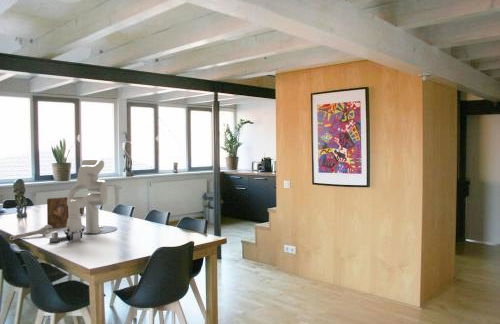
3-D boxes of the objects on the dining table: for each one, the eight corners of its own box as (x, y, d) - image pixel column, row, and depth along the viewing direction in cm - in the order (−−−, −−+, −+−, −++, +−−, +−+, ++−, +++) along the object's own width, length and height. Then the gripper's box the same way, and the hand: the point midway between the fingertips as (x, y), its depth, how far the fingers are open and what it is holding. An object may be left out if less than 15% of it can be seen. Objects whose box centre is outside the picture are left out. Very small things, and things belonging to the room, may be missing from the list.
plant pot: (83, 212, 437) (83, 196, 436) (88, 214, 424) (88, 198, 424) (66, 213, 426) (66, 197, 426) (71, 215, 414) (71, 199, 413)
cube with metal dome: (75, 239, 313) (75, 230, 313) (80, 241, 310) (80, 231, 310) (68, 241, 308) (68, 231, 308) (73, 242, 305) (73, 232, 305)
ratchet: (70, 237, 320) (70, 228, 320) (76, 238, 317) (76, 229, 316) (47, 242, 305) (47, 232, 305) (53, 243, 301) (53, 233, 301)
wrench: (10, 243, 313) (52, 233, 332) (10, 244, 311) (53, 234, 330) (8, 233, 312) (51, 223, 331) (9, 233, 310) (52, 224, 329)
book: (67, 225, 367) (67, 197, 366) (69, 226, 363) (69, 197, 362) (47, 227, 357) (47, 198, 355) (49, 228, 352) (48, 199, 351)
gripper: (81, 214, 318) (81, 236, 319) (60, 217, 303) (60, 240, 304) (87, 215, 314) (87, 237, 314) (66, 218, 299) (66, 242, 300)
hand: (74, 239), depth 309 cm, fingers open, 9 cm apart
